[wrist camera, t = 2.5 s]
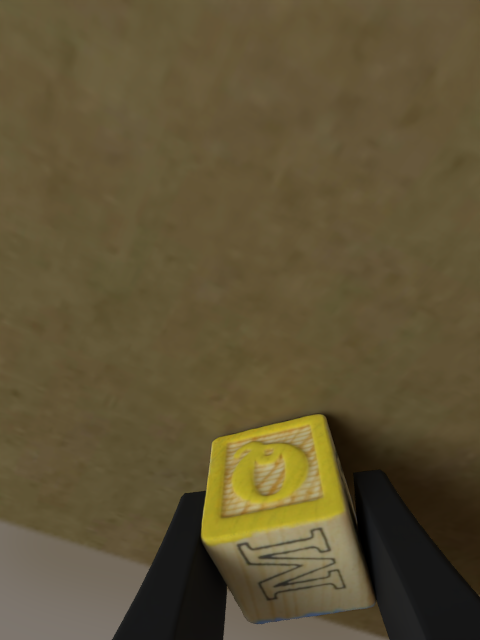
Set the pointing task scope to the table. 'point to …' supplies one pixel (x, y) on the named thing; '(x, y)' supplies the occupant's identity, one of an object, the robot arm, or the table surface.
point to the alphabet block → (284, 523)
